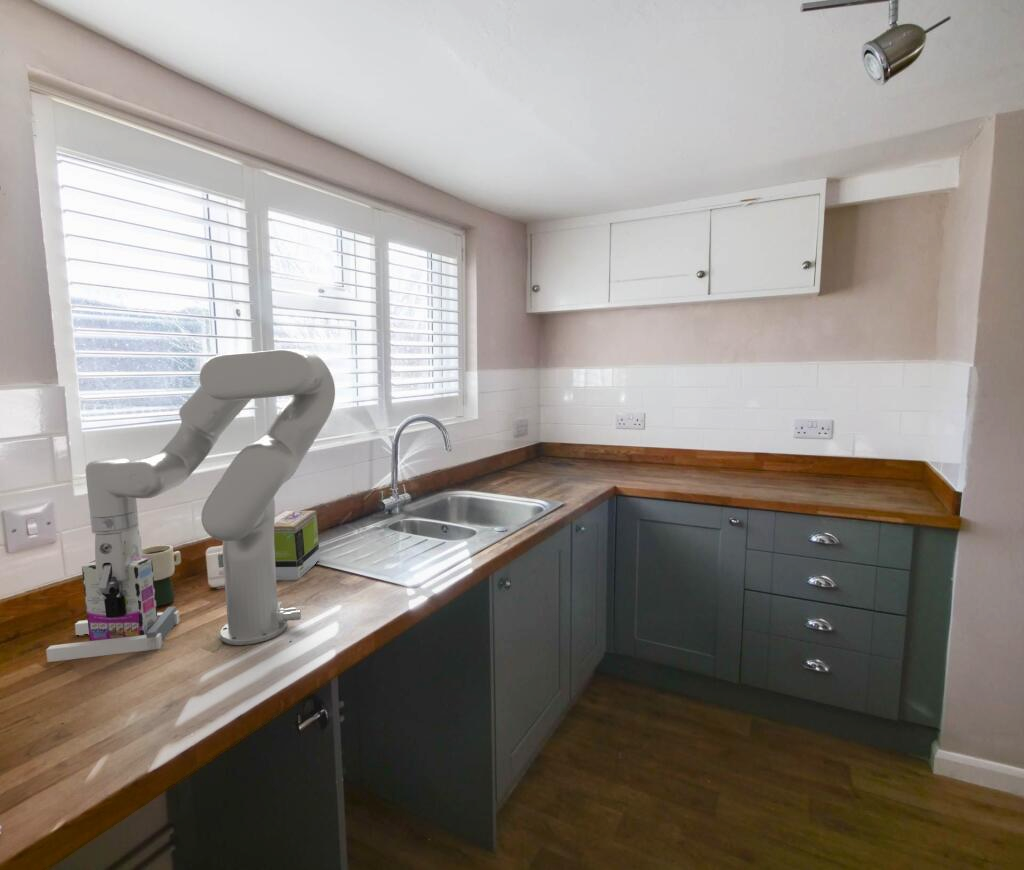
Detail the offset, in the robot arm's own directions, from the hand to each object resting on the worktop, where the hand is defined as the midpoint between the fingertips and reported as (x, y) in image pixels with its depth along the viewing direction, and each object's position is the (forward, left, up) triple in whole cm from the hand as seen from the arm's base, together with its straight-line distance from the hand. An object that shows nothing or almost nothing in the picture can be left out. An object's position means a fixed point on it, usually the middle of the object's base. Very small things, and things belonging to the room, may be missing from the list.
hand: (123, 608), depth 110 cm
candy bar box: (0, 0, -7) cm, 7 cm away
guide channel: (+2, 0, -7) cm, 7 cm away
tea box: (-27, -32, -7) cm, 43 cm away
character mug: (0, -17, -7) cm, 19 cm away
